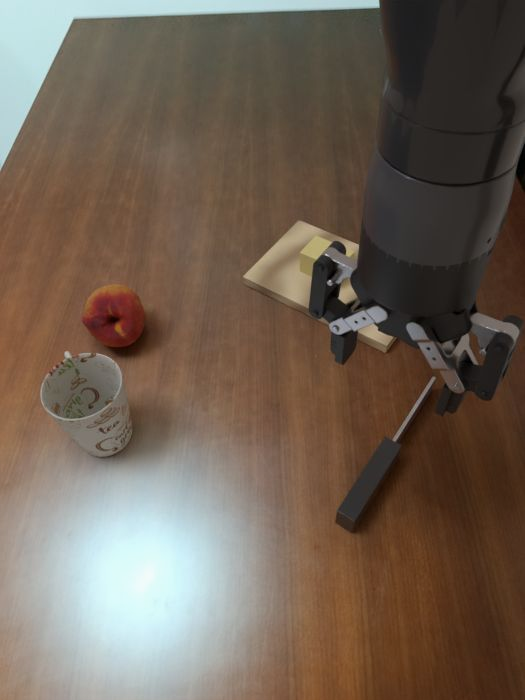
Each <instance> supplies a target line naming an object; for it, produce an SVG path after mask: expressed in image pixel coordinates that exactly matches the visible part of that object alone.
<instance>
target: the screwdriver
mask: <svg viewBox="0 0 525 700" xmlns="http://www.w3.org/2000/svg"><path fill="white" fill-rule="evenodd" d="M436 379H437V377H436V376H435V375H434V376H432V377H431V378H430V380H429V382H428V383H427V384H426V386H425V388H424V389H423V390H422V393H421V394H420V395H419V397H418V399H417V400H416V402H415V404H414V405H413V407H412V408H411V410H410V411H409V413H408V415H407V416H406V417H405V419H404V421H403V422H402V423H401V426H400V427H399V429H398V430H397V432H396V433H395V435H394V436H393V438H392V439H391V438H390V437H388V436H384V437H383V439H382V440H381V441H380V443H379V445H378V446H377V448H376V450H375V451H374V453H373V454H372V456H371V458H370V459H369V461H367V463H366V465H365V466H364V468H363V469H362V471H361V473H360V474H359V475H358V477H357V479H356V480H355V482H354V483H353V485H352V487H351V488H350V490H349V491H348V493H347V494H346V496H345V497H344V499H343V500H342V502H341V503H340V505H339V506H338V508H337V510H336V513H335V521H334V522H335V524H337V525H339V526H340V527H341V528H343V529H345V530H347V531H348V532H350V533H352V534H353V533H354V531H355V530H356V528H357V526H358V524H359V523H360V521H361V520H362V518H363V516H364V515H365V514H366V512H367V510H368V508H369V507H370V505H371V504H372V502H373V500H374V499H375V497H376V495H377V494H378V492H379V491H380V489H381V487H382V486H383V484H384V482H385V481H386V480H387V478H388V476H389V475H390V473H391V471H392V470H393V468H394V466H395V465H396V464H397V462H398V460H399V457H400V454H401V451H402V448H403V445H402V444H400V443H401V441H402V440H403V438H404V436H405V434H406V433H407V431H408V430H409V428H410V426H411V425H412V423H413V422H414V420H415V418H417V415H418V414H419V412H420V411H421V409H422V408H423V406H424V404H425V403H426V401H427V400H428V398H429V397H430V395H431V393H432V391H433V389H434V385H435V382H436Z"/></svg>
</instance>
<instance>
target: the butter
mask: <svg viewBox="0 0 525 700" xmlns="http://www.w3.org/2000/svg"><path fill="white" fill-rule="evenodd" d="M331 243H332V242H330V241H328V240H326V239H323V238H321V237H318V236H315V237H314V238H313V239H312V240H311V241H310V242H309V243H308V244H307V245H306V246H305V247H304V249H303V250H302V251H301V252H300V272H302V273H304V274H307V275H309V276H311V277H312V271H313V263H314V262H315V261H316V260H317V259H318V258H319V257H320V255H321V254H322V253H323V252H324V251H325V250H326V249H327V248H328V247H329V246H330V244H331ZM346 256H348V257H350V258H352V259H354V251H352V250H349V249H347V248H346ZM345 279H346V278H345ZM345 279H344V280H345ZM344 280H343V281H344ZM343 281H342V283H343ZM342 283H341V284H342Z"/></svg>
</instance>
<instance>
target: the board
mask: <svg viewBox="0 0 525 700" xmlns="http://www.w3.org/2000/svg"><path fill="white" fill-rule="evenodd" d="M315 236H318V237H321V238H323V239H326V240H328V241H330V242H333V241H339V242H341V243H343V244H344V246H345V247H346V248H347V249H349V250H352V251H354V259H355V260H357V259H358V250H359V243H356V242H353V241H351V240H348V239H346V238H343V237H341V236H339V235H336V234H334V233H332V232H329V231H326V230H324V229H321V228H319V227H318V226H315V225H312V224H310V223H307V222H305V221H302V220H300V219H298V220H297V221H296V222H295V223H294V224H293V225H292V226H291V227H290V228H289V229H288V230H287V231H286V232H285V234H283V235H282V236H281V237H280V238H279V239H278V240H277V241H276V242H275V244H274V245H272V246H271V248H270V249H268V250H267V251H266V252H265V254H264V255H263V256H262V257H261V258H260V259H259V260H258V261H256V262H255V264H254V265H253V266H252V267H251V268H250V269H249V270H248V271H247V272H246V273H244V274H243V276H242V283H243V285H245V286H246V287H248V288H251V289H253V290H255V291H257V292H259V293H261V294H263V295H264V296H267V297H269V298H271V299H273V300H275V301H277V302H280V303H281V304H282V305H285V306H288V307H290V308H292V309H294V310H296V311H297V312H300V313H301V314H304V315H306V316H308V317H310V318H312V319H314V320H316V321H319V322H321V323H322V324H325V325H327V326H329V323H328V321H326V320H325V319H324V318H323V317H322V318H321V319H315V318H314V317H312V316H311V315H310V313H309V300H310V290H311V281H312V277H311V276H309V275H307V274H304V273H302V272H300V252H301V251H302V250H303V249H304V247H305V246H306V245H307V244H308V243H309V242H310V241H311V240H312V239H313V238H314V237H315ZM355 298H357V295H356V293H355V292H354V290H353V288H352V286H351V283H350V278H346V279H345V280H344V281H343V283H342V284H341V287H340V293H339V298H338V299H339V300H341V301H342V302H343V303H345V304H346V303H347V302H349V301H351V300H353V299H355ZM396 340H397V338H396V337H393V336H389V335H386V334H384V333H382V332H380V331H378V327H377V326H376V325H375V324H371V325H369V326H367V327H364V328H362V329H360V330H358V335H357V341H360V342H362V343H364V344H365V345H368V346H369V347H372V348H374V349H376V350H378V351H380V352H382V353H384V354H386V353H387V352H388V351H389V349H390V348H391V347H392V345H393V344H394V342H395V341H396Z"/></svg>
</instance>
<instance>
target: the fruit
mask: <svg viewBox="0 0 525 700" xmlns="http://www.w3.org/2000/svg"><path fill="white" fill-rule="evenodd" d="M81 322H82V324H83V325H84V326H85V328H86V329H87V331H88V333H89V334H90V335H91V336H92V337H93V338H94V339H95V340H96V341H98V342H99V343H101V344H102V345H103V346H106V347H110V348H122V347H123V348H124V347H127V346H130V345H132V344H133V343H135V342H136V341H137V340H138V339H139V338H140V336H141V334H142V332H143V331H144V328H145V324H146V311H145V308H144V306H143V304H142V300H141V298H140V296H139V295H138V294H137V293H136V292H135V291H134V290H132V289H131V288H130V287H128V286H127V285H124V284H119V283H112V284H107V285H104V286H101V287H99V288H97V289H95V290H94V291H93V292H92V293H91V294H90V296H89V297H88V299H87V300H86V303H85V306H84V311H83V314H82V316H81Z"/></svg>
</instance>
